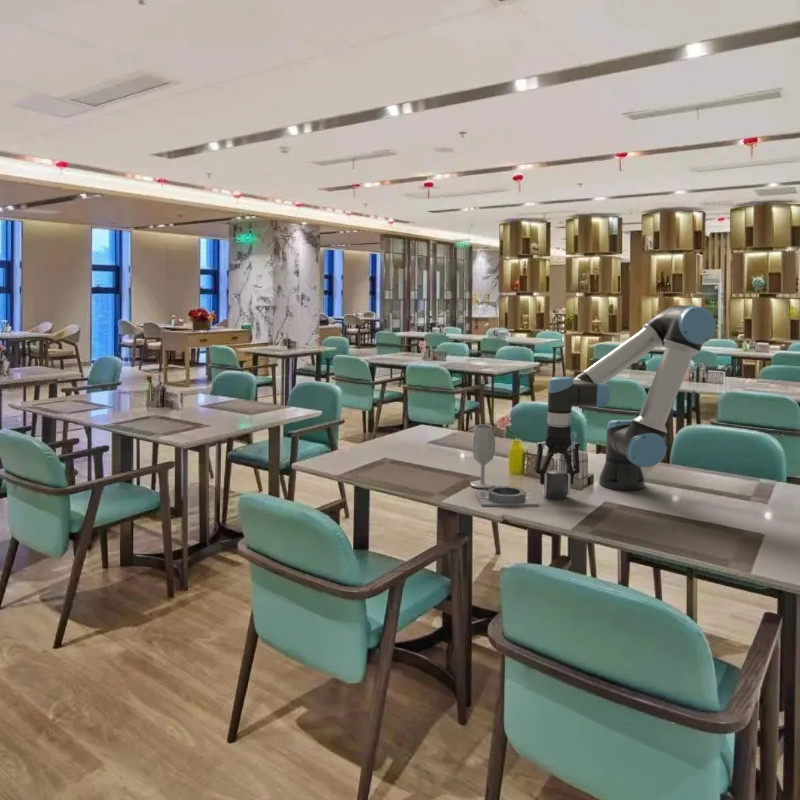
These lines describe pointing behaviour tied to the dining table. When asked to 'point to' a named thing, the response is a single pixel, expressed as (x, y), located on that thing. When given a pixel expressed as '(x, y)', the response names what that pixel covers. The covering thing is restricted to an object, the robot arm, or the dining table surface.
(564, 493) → the dark grey cylinder
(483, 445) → the wineglass
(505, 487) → the gray tray with ring
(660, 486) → the dining table surface
